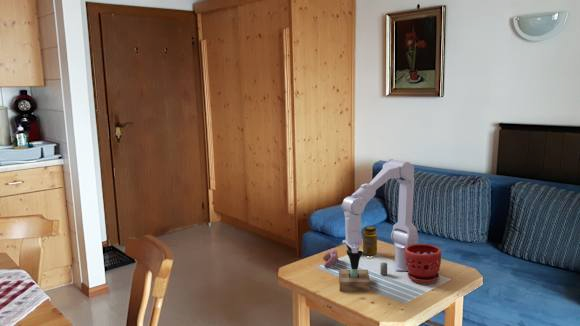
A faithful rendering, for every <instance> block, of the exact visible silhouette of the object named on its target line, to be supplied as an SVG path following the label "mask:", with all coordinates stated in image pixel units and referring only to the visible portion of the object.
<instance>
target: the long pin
mask: <svg viewBox="0 0 580 326" xmlns="http://www.w3.org/2000/svg"><path fill="white" fill-rule="evenodd" d="M349 265H350V268H349V270H350V272H351V278H358V270H359V269H352V268H351V263H349Z"/></svg>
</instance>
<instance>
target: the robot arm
mask: <svg viewBox="0 0 580 326" xmlns="http://www.w3.org/2000/svg"><path fill="white" fill-rule="evenodd" d="M414 173H415V166H414V165H413V164H412V163H411V162H409V161H402V160H395V159H388V160H387V161H386V162H385V163H383V165H382V169H381V170H380V171H379V172H378V173H377V174H376V175H375V176H374V177H373V178H372V180H371V181H370V182H369V183H367V182H366V183H363V184H361V185H360V187H359V188H358V189H357V190H356V191H355V192H353V193H352V194H351V196H350V195H349V196H346V197H345V198H344V199H343V201H342V204H341V205H340V206H341V209H342V210H343V215H344V221H345V222H344V223H345V224H344V225H345V227H344V228H345V230H344V231H345V239H343V240H342V244H344V245H346V247H347V249H346V251H345V252H346V254H347V256H348V258H349V264H351V268H352V269H358V268H359V265H360V264H359V263H360V259H361V255H362V252H363V250H359V248H360V247H361V245H363V239H362V213H363V212H364V210H365V208H366V206H367V204H368V202H369V201H370V200H371V199H372V198H374V197H375V196H376V194H377V193H376V191H377V190H378V189H379V188H380V187H381V186H383V185H384V184H385V183H386V182H388V181H389V180H390V179H393V180H394V179H395V180H396V181H397V182H398V184H399V193H398V212H397V213H398V214H397V222H396V223H394V224H393V226H392V230H391V235H390V238H391V239H390V240H391V242H393V245H394V246H395V247H394V248H395V250H394V252H395V253H394V255H395V256H394V260H395V261H394V262H392V265H393V267H394V269H395V271H396V272H403V271H404V272H409V271H408V268H407V265H406V261H405V248H406V247H407V246H410V245H415V244H419V234H418V229H417V227H416V226H415V224H414V223H413V209H414V208H413V207H414V191H415V189H414V188H415V174H414ZM412 253H413V252H412ZM419 253H420V252H419V251H418V252H417V254H419ZM409 261H410V259H409ZM358 270H359V269H358Z"/></svg>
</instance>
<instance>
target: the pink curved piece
mask: <svg viewBox="0 0 580 326" xmlns="http://www.w3.org/2000/svg"><path fill="white" fill-rule="evenodd" d="M322 260H323V261H325V263H324V265H323V266H324V268H326V269H327V268H328V269H329V268H331V267H333V266H334V265H335V264H336V263H337V262H339V256H338V250H337V249H335V248H331V249H330V250H329V251H328V252H327V253H325V254H323V257H322Z"/></svg>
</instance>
